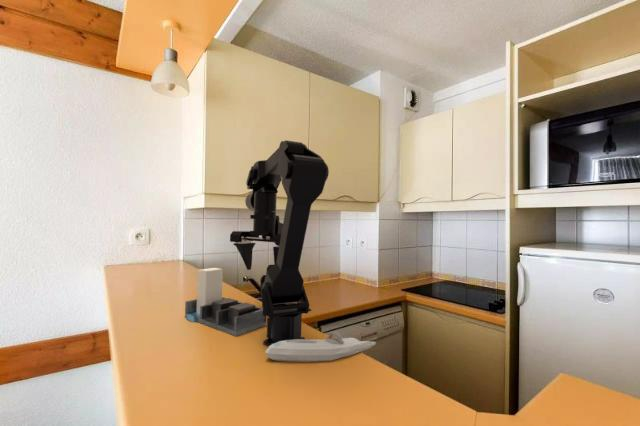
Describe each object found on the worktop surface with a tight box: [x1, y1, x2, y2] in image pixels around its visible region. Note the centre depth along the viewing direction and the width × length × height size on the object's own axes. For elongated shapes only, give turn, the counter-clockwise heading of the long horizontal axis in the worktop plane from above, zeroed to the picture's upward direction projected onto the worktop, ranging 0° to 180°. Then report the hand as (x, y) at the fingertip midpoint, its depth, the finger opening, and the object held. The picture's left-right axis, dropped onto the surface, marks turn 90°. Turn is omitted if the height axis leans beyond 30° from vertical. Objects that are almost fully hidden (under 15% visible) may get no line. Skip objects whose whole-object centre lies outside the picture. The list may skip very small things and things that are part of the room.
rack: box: [184, 296, 267, 337], centre depth 78 cm, size 20×10×5 cm, turn 54°
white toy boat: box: [264, 331, 377, 363], centre depth 61 cm, size 23×7×4 cm, turn 111°
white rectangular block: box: [196, 267, 224, 314], centre depth 82 cm, size 4×5×11 cm
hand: (262, 271), depth 81 cm, fingers open, 9 cm apart
